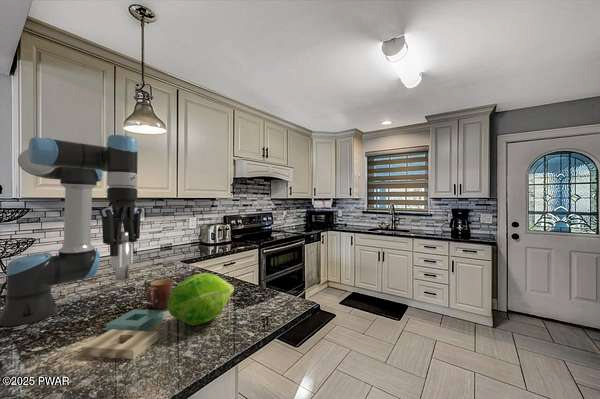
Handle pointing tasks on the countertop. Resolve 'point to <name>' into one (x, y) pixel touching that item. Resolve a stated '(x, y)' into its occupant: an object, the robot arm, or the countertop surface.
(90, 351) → the wooden square-hole plate
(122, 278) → the metal cylinder rod
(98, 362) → the countertop surface
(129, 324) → the socket
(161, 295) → the mug
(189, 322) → the lettuce
